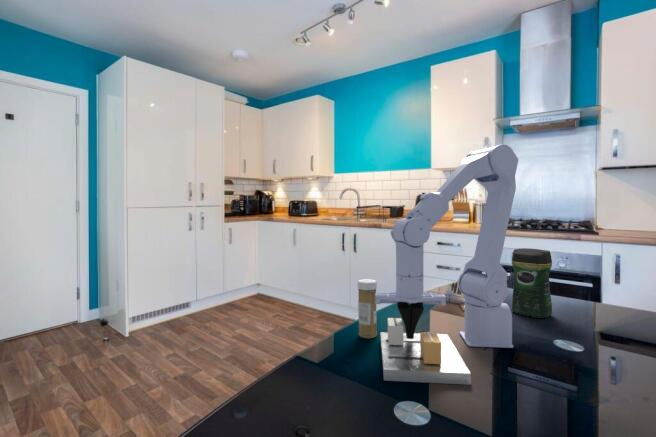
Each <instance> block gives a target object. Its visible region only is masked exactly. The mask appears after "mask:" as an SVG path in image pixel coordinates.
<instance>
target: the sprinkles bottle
mask: <svg viewBox="0 0 656 437" xmlns="http://www.w3.org/2000/svg"><path fill="white" fill-rule="evenodd" d="M377 285H378V282H377V280H375V279H372V278H362V279H359V280H357V289H358V291H357V292H358V301H357V303H358V304H357V305H358V306H357V308H358V315H357V316H358V336H359V337H360V338H363V339H373V338H377V336H378V331H377V329H378V328H377V320H378V319H377V318H378V317H377V314H378V313H377V311H378V310H377V304H376V302H375V293H377V289H378V288H377V287H378V286H377Z"/></svg>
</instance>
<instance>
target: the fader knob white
mask: <svg viewBox="0 0 656 437" xmlns="http://www.w3.org/2000/svg"><path fill="white" fill-rule="evenodd" d="M387 332H388V341H389V345H404V333H405V332H404V322H403V319H402V317H397V318H396V317H388V318H387Z"/></svg>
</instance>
